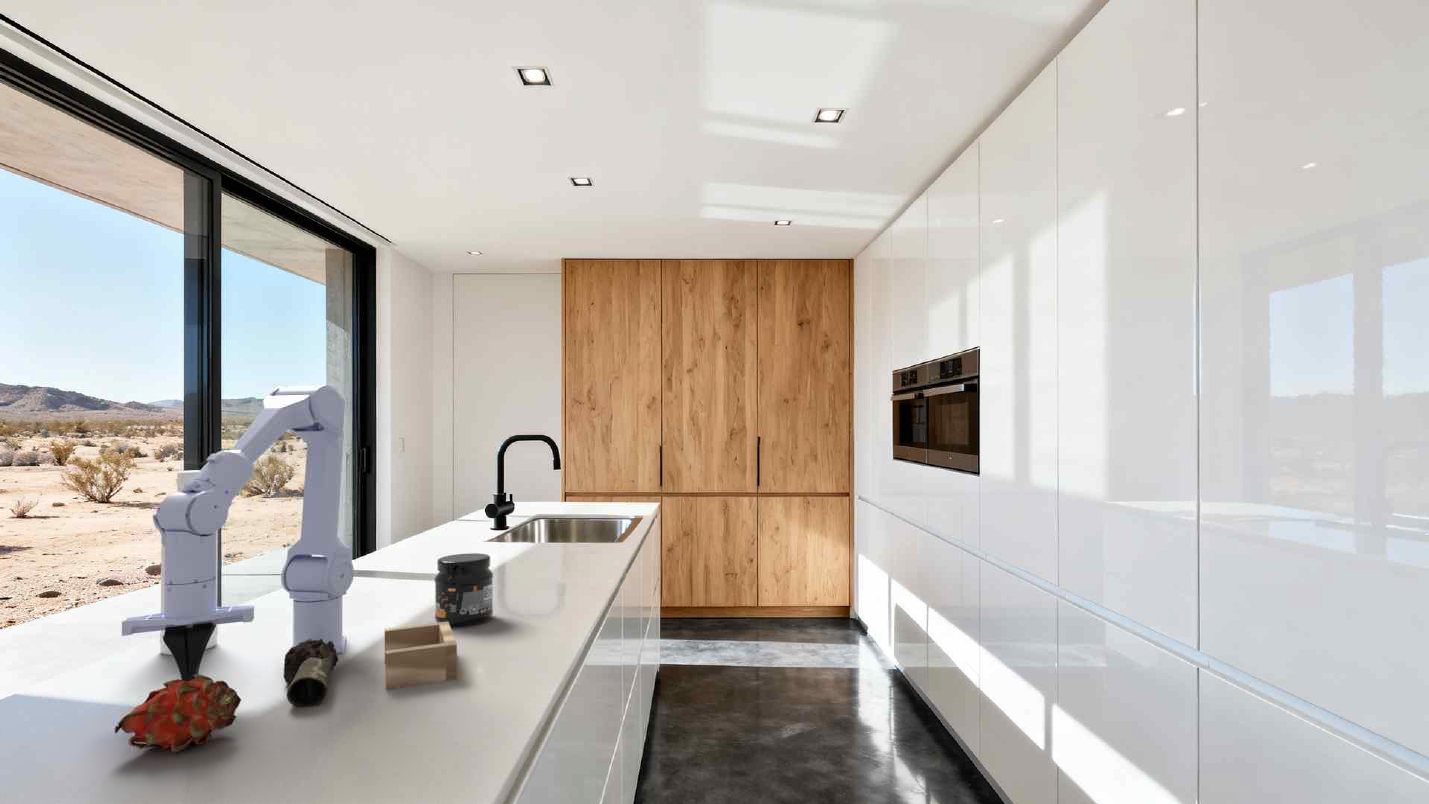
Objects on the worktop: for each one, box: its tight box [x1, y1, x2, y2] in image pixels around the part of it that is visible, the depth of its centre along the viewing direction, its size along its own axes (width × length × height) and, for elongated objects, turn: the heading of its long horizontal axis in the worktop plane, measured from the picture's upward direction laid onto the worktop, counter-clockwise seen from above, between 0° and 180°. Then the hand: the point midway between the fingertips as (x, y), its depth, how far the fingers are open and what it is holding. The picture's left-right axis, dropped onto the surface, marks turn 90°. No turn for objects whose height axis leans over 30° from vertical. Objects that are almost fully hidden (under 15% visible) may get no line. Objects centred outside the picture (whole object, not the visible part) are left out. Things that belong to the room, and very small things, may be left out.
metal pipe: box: [282, 638, 339, 709], centre depth 104 cm, size 18×7×6 cm, turn 22°
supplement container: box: [434, 552, 494, 628], centre depth 138 cm, size 10×10×12 cm
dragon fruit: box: [114, 673, 242, 754], centre depth 85 cm, size 8×8×12 cm
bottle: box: [159, 469, 219, 656], centre depth 124 cm, size 8×8×30 cm
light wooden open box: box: [384, 621, 458, 690], centre depth 111 cm, size 14×10×5 cm
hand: (190, 681), depth 99 cm, fingers closed
